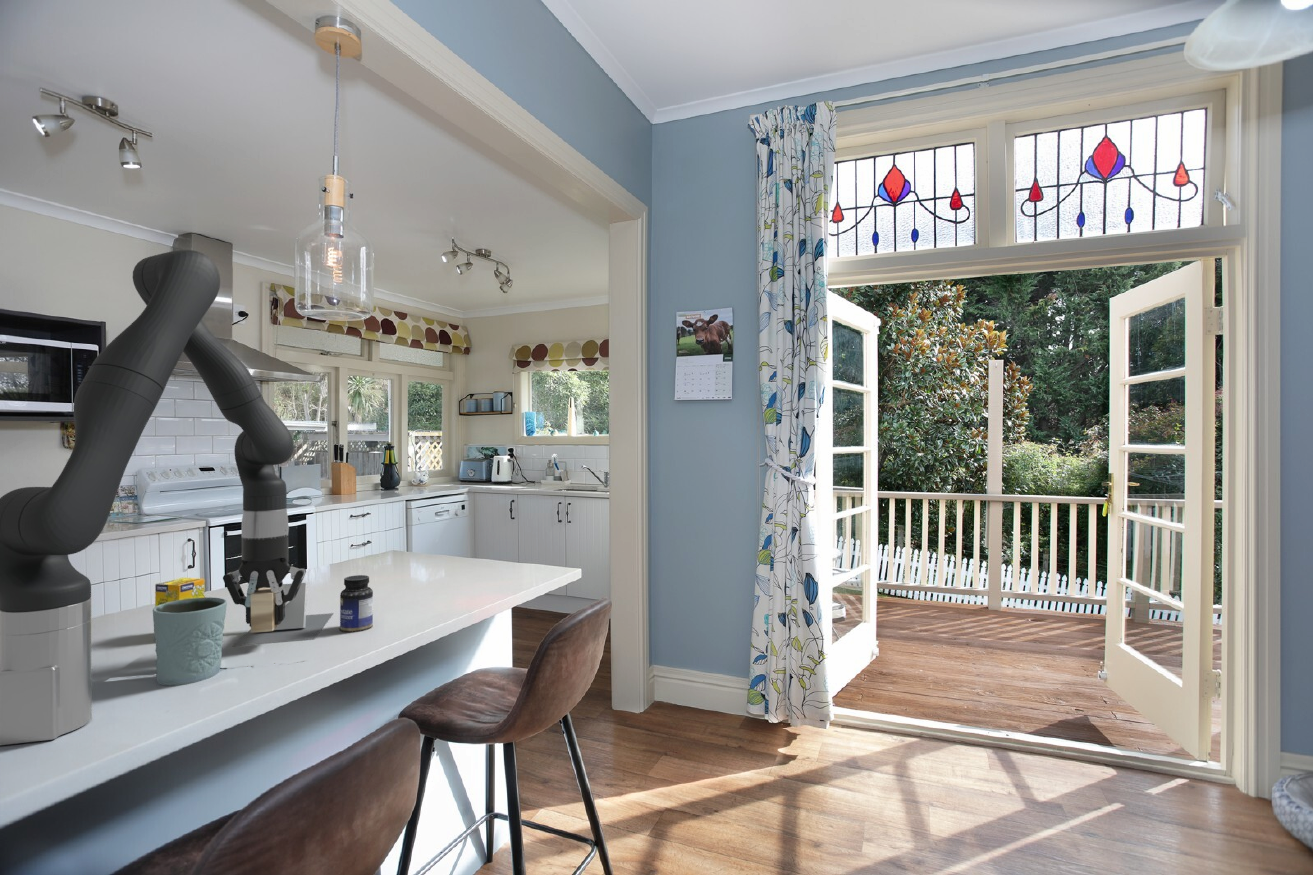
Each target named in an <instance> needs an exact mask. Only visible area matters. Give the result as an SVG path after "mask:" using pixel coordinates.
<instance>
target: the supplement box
mask: <svg viewBox="0 0 1313 875" xmlns="http://www.w3.org/2000/svg"><path fill="white" fill-rule="evenodd" d="M205 583H206V579H205V578H191V577H180V578H176V579H173V580H168V581H164V582H157V583H155V585H154V588H155V592H154V593H155V595H154V598H155V604H154V606H155V607H156V606H158V605H161V604H164V603H168V602H172V601H177V600H184V599H191V598H204V597H205V596H206V595H205V593H206V589H205V587H206V586H205ZM155 607H154V608H155Z"/></svg>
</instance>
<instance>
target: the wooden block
mask: <svg viewBox="0 0 1313 875" xmlns="http://www.w3.org/2000/svg"><path fill="white" fill-rule="evenodd" d="M289 602H290V601H288V602H286V603H285V605H286V604H288V603H289ZM275 605H276V603H275V599H274V593H272V592H271V588H260V590H258V591H257V592H256V593H254V594H251V627H250V629H251V633H255V632H268V631H273V630H274V629H275V628H276V627H277V626H278V625H275V620H274V606H275Z"/></svg>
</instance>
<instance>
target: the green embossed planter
mask: <svg viewBox="0 0 1313 875" xmlns="http://www.w3.org/2000/svg"><path fill="white" fill-rule="evenodd" d="M227 607H228V601H227V599H225V598H221V597H211V596H209V597H208V596H207V597H204V598H191V599H184V600H177V601H172V602H168V603H164V604H161V605H158V606H156V607H154V608H152V616H153V617H152V620H153V635H154V641H155V649H154V650H155V653H156V661H155V668H156V669H155V670H156V681H157V684H159V685H163V686H182V685H188V684H194V683H198V682H201V681H204V680H207V679H210V678H213V677H214V676H216V675H218V674H219V673H220V670H221V665H222V657H223V656H222V655H223V653H222V648H223V639H224V633H223V631H224V629H225V620H226V615H227V614H226V613H227Z"/></svg>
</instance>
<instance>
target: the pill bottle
mask: <svg viewBox="0 0 1313 875" xmlns="http://www.w3.org/2000/svg"><path fill="white" fill-rule="evenodd" d="M369 583H370V576H368V575H365V574H361V575H360V574H357V575H350V576H347V577H344V578H343V585H344V586H345V587H344V589H343V590H342V591H341V592H340V594H339V604H340V605H339V631H340V632H341V633H346V634H348V633H349V634H351V633H359V632H365V631H368V630H370V629H372V628H374V625H373V624H374V620H373V618H374V616H373V615H374V614H373V613H374V612H373V611H374V610H373V608H374V607H373V606H374V604H373V603H374V600H373V598H374V590H373V588H371V587H369Z"/></svg>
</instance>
